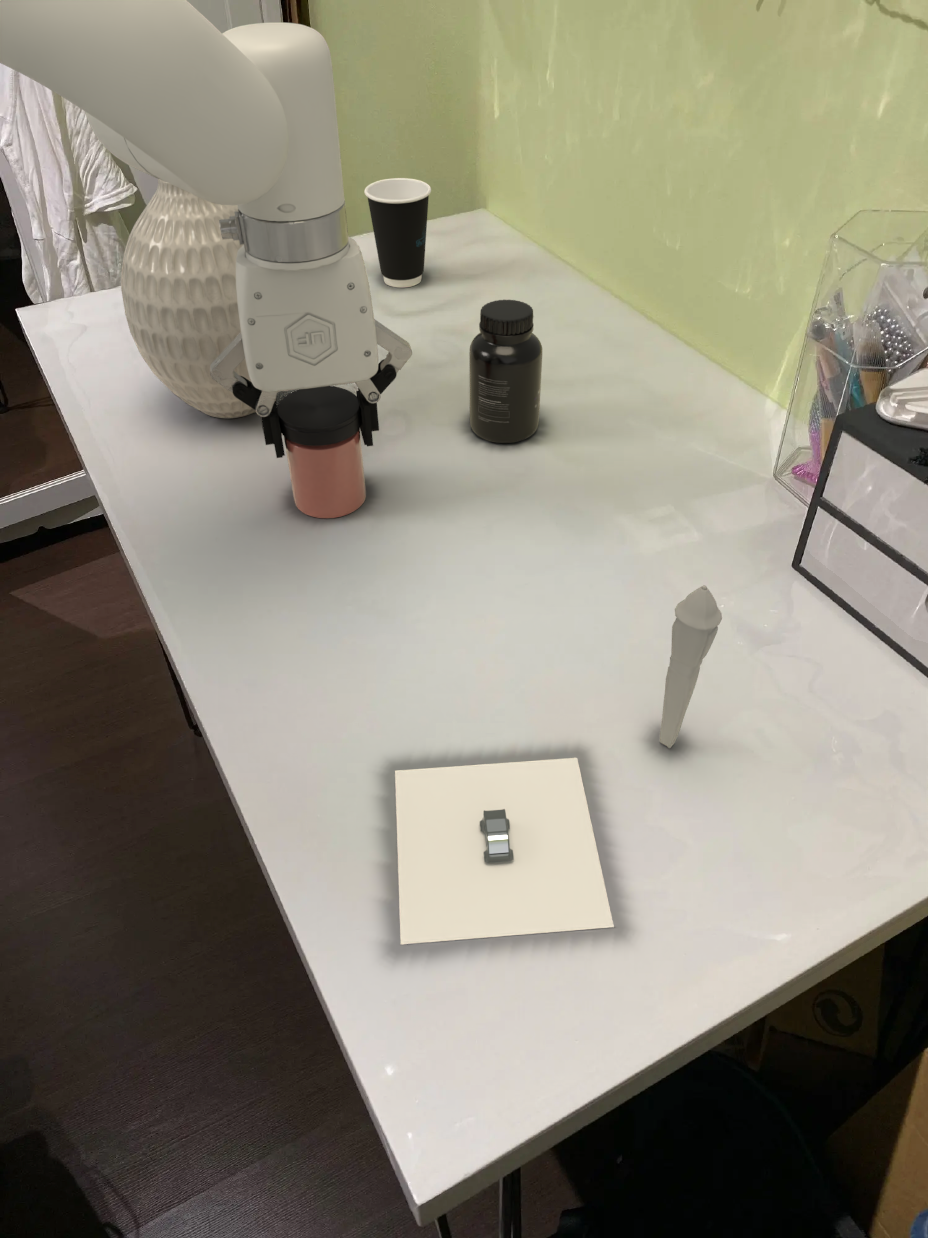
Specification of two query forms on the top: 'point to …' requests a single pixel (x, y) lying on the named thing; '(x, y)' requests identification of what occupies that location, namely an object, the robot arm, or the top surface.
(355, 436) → the cream jar
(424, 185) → the dixie cup
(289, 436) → the jar lid
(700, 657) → the grey tapered bar
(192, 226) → the vase
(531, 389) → the supplement bottle
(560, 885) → the cream paper sheet
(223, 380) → the robot arm
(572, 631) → the top surface
